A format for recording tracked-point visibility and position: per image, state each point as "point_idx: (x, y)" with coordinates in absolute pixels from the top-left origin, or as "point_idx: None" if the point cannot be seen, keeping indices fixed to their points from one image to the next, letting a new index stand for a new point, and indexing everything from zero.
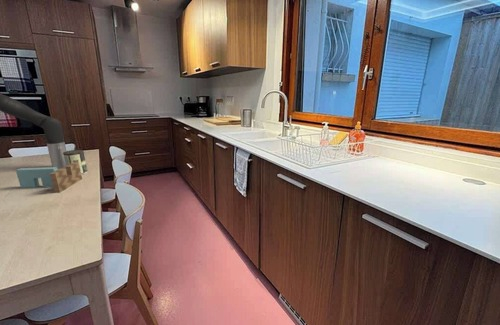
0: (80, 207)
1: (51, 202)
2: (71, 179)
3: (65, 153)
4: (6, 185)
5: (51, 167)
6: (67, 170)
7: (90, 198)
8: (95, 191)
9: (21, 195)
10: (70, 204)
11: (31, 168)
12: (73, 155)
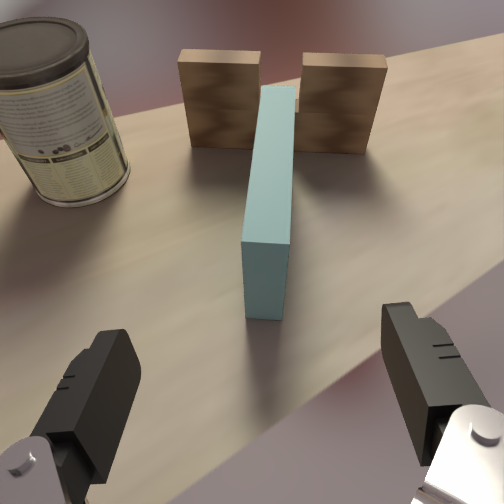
0: (483, 61)
1: (460, 126)
2: None
3: (68, 55)
4: (194, 467)
5: (262, 102)
6: (259, 82)
7: (418, 61)
8: None
9: (398, 251)
10: (468, 83)
11: (262, 176)
12: (89, 49)
